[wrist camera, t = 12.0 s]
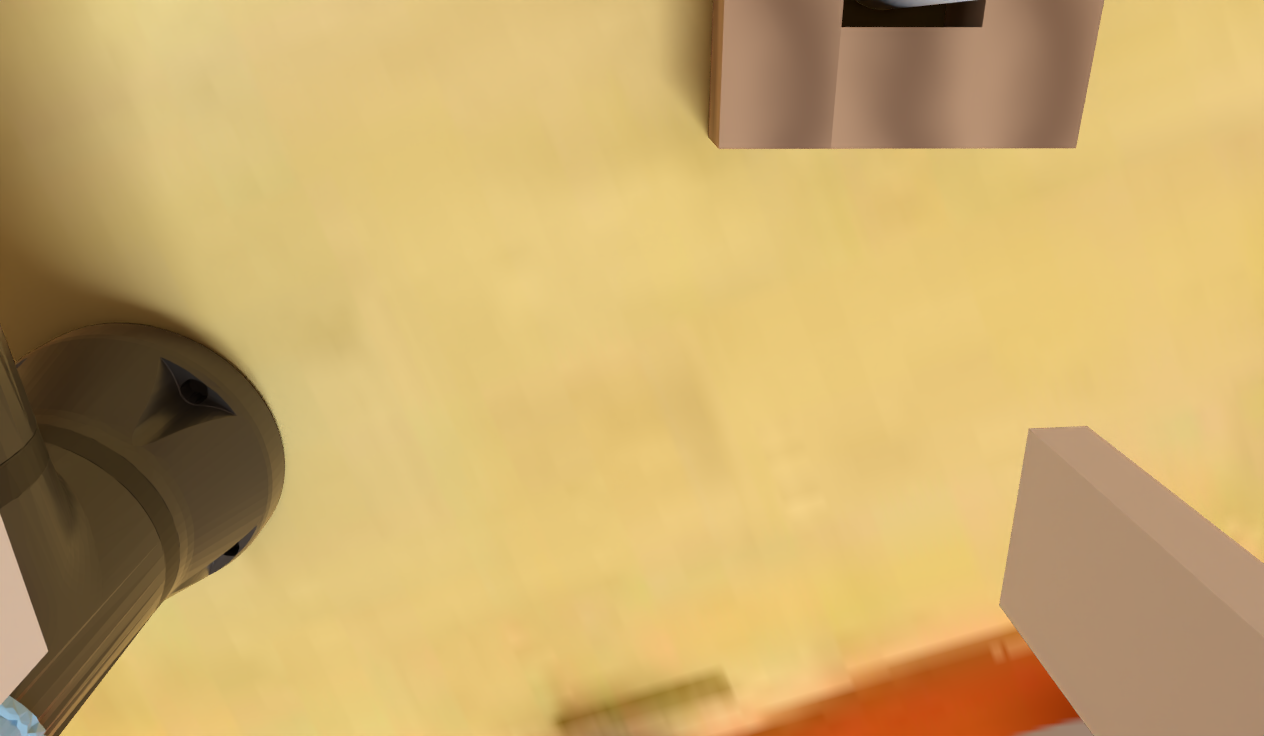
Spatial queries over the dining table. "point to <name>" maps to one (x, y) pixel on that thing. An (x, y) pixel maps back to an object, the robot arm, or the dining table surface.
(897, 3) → the peg
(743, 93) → the socket block
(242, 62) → the dining table surface
